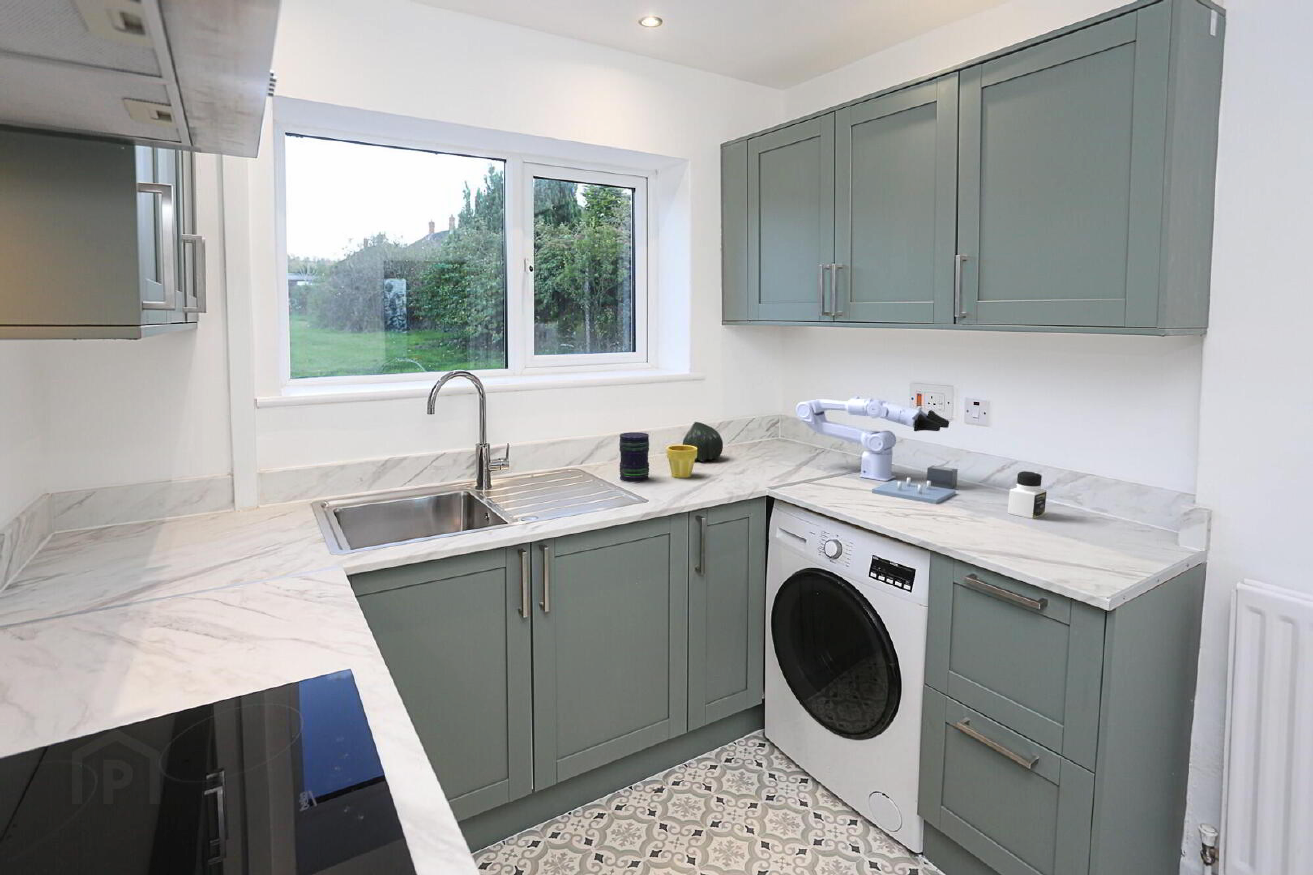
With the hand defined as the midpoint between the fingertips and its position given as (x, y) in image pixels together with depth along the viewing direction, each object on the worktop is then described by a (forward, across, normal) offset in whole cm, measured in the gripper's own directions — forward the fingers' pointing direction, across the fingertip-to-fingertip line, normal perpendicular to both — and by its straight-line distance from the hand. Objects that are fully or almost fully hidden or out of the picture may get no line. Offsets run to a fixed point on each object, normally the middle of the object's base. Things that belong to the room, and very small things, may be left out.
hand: (944, 426), depth 238 cm
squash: (-79, -16, +33) cm, 87 cm away
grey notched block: (+3, +1, +20) cm, 20 cm away
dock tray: (0, -14, +20) cm, 24 cm away
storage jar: (-78, -56, +32) cm, 101 cm away
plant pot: (-69, -42, +31) cm, 86 cm away
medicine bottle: (+32, -16, +15) cm, 39 cm away
